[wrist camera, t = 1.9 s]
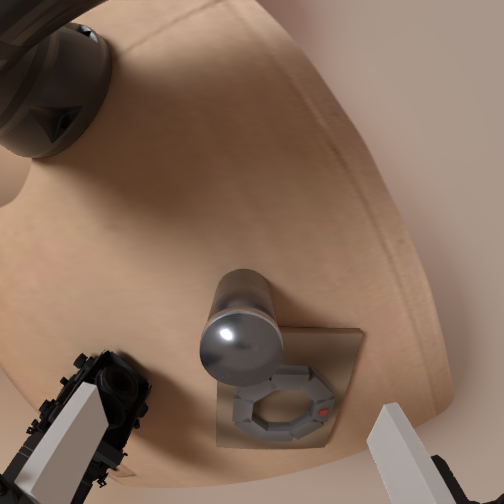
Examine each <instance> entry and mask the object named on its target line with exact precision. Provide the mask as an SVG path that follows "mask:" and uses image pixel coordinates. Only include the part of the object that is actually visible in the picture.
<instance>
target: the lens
mask: <svg viewBox="0 0 504 504" xmlns="http://www.w3.org/2000/svg"><path fill="white" fill-rule="evenodd" d="M282 358H283V341H282V336H281V332H280V329H279V327H278V324H277V319H276V314H275V310H274V305H273V300H272V295H271V290H270V287H269V284H268V282H267V281H266V279H265V278H264V277H263V276H262V275H260V274H259V273H257V272H255V271H253V270H249V269H238V270H234V271H231V272H230V273H228V274H226V275H225V276H224V277H223V278H222V279H221V281H220V282H219V284H218V286H217V290H216V293H215V297H214V300H213V303H212V307H211V310H210V314H209V317H208V321H207V323H206V325H205V327H204V329H203V332H202V336H201V340H200V359H201V362H202V364H203V366H204V368H205V370H206V371H207V372H208V373H209V374H210V375H211V376H212V377H213V378H215V379H216V380H218V381H220V382H222V383H224V384H227V385H231V386H237V387H248V386H254V385H257V384H260V383H262V382H264V381H266V380H268V379H269V378H270V377H272V376H273V375H274V374H275V373H276V371H277V370H278V369H279V367H280V365H281V362H282Z"/></svg>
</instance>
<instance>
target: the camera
mask: <svg viewBox="0 0 504 504" xmlns="http://www.w3.org/2000/svg"><path fill="white" fill-rule="evenodd" d="M104 351H105V350H104ZM104 351H103V352H104ZM103 352H102V353H103ZM102 353H101V354H102ZM101 354H100V356H99V357H95V359H93V358H92V357H90V358H89V359H88V360H87V361H86V359H87V358H88V357H86V356H85V355H84V354H83V353H82V354H80V355H79V357H78V358H77V359H76V360H75V362H74V364H73V365H74V366H76V367H77V368H79V369H80V368H81V369H80V370H79V371H78V373H77V374H74V375H72V378H71V379H69V380H67V379H66V378H65V377H63V378H62V379H61V380H60V383H61V384H63V385H64V387H63V388H62V391H60V394H59V395H58V398H57V399H56V401H55V400H54V399H52V401H51V402H50V401H48V400H47V399H46V400H45V402H44V403H43V404H42V406H41V407H40V408H39V411H40V412H41V414H40V417H39V418H40V419H41V421H40V423H38V421H37V420H36V419H34V421H33V422H32V424H31V425H32V426H33V427H32V428H31V427H28V429H27V432H26V433H28V434H34V433H36V432H39V433H42V434H44V435H45V434H46V432H47V431H48V430H49V428H50V427H51V425H52V424H53V422H54V421H55V420H56V418H57V417H58V415H59V414H60V412H61V411H62V410H63V408H64V407H65V406H66V404H67V403H68V401H69V400H70V399H71V397H72V396H73V395H74V393H75V392H76V391H77V389H78V388H79V387H80V385H81V384H82V383H83V382H85V383H89V384H92V385H96V386H97V389H98V392H99V396H100V399H101V403H102V406H103V409H104V412H105V416H106V419H107V422H108V427H107V429H106V431H105V433H104V435H103V437H102V439H101V441H100V443H99V445H98V447H97V449H96V451H95V453H94V455H93V457H92V459H91V461H90V463H89V465H88V467H87V469H86V471H85V473H84V475H83V477H82V479H81V481H80V483H79V486H78V488H77V490H76V492H75V494H74V496H73V499H72V501H71V503H70V504H83V503H84V500H85V499H86V497H87V495H88V493H89V491H90V489H91V487H92V486H93V484H92V482H93V481H95V480H96V479H99V480H98V481H97V482H98V483H99V484H100V485H101V486H100V488H101V487H103V486H105V485H106V482H105V481H104V480H105V478H106V477H107V475H108V473H106V471H107V469H108V468H111V467H112V468H115V467H117V466H118V465H120V463H121V461H122V459H123V457H124V455H126V456H128V454H127V453H125V452H124V454H123V448H124V447H125V445H126V444H127V440H128V438H129V435H130V433H131V431H132V428H133V427H134V428H135V429H138V428H139V427H140V423H139V419H138V417H139V418H141V417H143V416H144V415H145V414H146V412H147V410H148V407H149V406H147V405H146V403H145V400H146V398H147V397H148V395H149V393H150V391H151V387H152V386H150V387H149V388H148V386H149V383H148V382H147V379H146V378H145V377H143V376H142V375H141V374H140V373H138V372H137V371H136V370H134V369H133V368H132V367H131V366H129V365H128V364H127V363H126V362H124V361H123V360H122V359H121V358H119V357H118V356H117V355H116V354H115V353H113V352H110V351H108V350H107V351H106V352H105V353H104V354H102V355H101ZM98 358H99V359H98ZM137 419H138V420H137ZM33 428H34V429H33ZM29 429H30V430H31V431H30V430H29ZM105 473H106V474H105ZM101 483H104V485H102V484H101Z"/></svg>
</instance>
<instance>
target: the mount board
mask: <svg viewBox="0 0 504 504" xmlns="http://www.w3.org/2000/svg"><path fill="white" fill-rule="evenodd" d="M279 329H280V332H281V336H282V341H283V358H282V362H281V365H280V367H279V369H278V370H277V371H276V373H275V374H274V375H273V376H272V377H270V378H269V379H268V380H266V381H264V382H262V383H260V384H257V385H254V386H248V387H237V386H231V385H227V384H224V383H222V382H220V381H218V380H217V438H216V447H225V448H240V449H306V448H321V447H325V445H326V443H327V440H328V438H329V435H330V433H331V430H332V428H333V425H334V423H335V420H336V417H337V415H338V412H339V409H340V407H341V404H342V401H343V398H344V395H345V392H346V390H347V387H348V384H349V380H350V377H351V374H352V371H353V368H354V365H355V361H356V358H357V354H358V351H359V347H360V344H361V340H362V336H363V333H362V331H361V330H360V329H359V328H303V327H279Z"/></svg>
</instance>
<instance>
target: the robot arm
mask: <svg viewBox="0 0 504 504" xmlns="http://www.w3.org/2000/svg"><path fill="white" fill-rule="evenodd" d="M106 1H108V0H0V145H2V146H4V147H5V148H6V149H8V150H10V151H11V152H13V153H14V154H16V155H19V156H23V157H30V158H45V157H49V156H52V155H55V154H57V153H59V152H61V151H62V150H64V149H65V148H67V147H68V146H70V145H71V144H72V143H73V142H74V141H75V140H76V139H77V138H78V137H79V136H80V135H81V134H82V133H83V132H84V131H85V129H86V128H87V127H88V126H89V124H90V123H91V121H92V120H93V118H94V117H95V115H96V113H97V112H98V110H99V108H100V106H101V104H102V102H103V100H104V97H105V95H106V92H107V89H108V86H109V82H110V77H111V70H112V59H111V53H110V50H109V47H108V45H107V43H106V42H105V41H104V39H103V38H102V37H101V36H99V35H98V34H97V33H96V32H95V31H94V30H92V29H91V28H89V27H87V26H85V25H81V24H77V23H72V22H71V21H72V20H74V19H75V18H77V17H79V16H80V15H82V14H84V13H85V12H87V11H89V10H91V9H92V8H94V7H96V6H98V5H100V4H102V3H104V2H106ZM107 427H108V422H107V419H106V416H105V412H104V409H103V406H102V403H101V399H100V396H99V392H98V389H97V386H96V385H92V384H89V383H85V382H83V383H82V384H81V385H80V387H79V388H78V389H77V391H76V392H75V393H74V395H73V396H72V397H71V399H70V400H69V401H68V403H67V404H66V406H65V407H64V408H63V410H62V411H61V412H60V414H59V415H58V417H57V418H56V420H55V421H54V422H53V424H52V425H51V427H50V428H49V430H48V431H47V432H46V434H45V435H44V434H42V433H39V432H36V433H34V434H32V435H31V436H29V437H28V439H27V440H26V441H25V443H24V444H23V447H21V449H20V450H19V453H17V454H16V456H15V457H14V458H13V460H12V461H11V463H10V465H9V466H8V467H7V469H6V470H5V472H4V473H3V474H2V475H1V474H0V504H70V503H71V501H72V499H73V496H74V494H75V492H76V490H77V488H78V486H79V483H80V481H81V479H82V477H83V475H84V473H85V471H86V469H87V467H88V465H89V463H90V461H91V459H92V457H93V455H94V453H95V451H96V449H97V447H98V445H99V443H100V441H101V439H102V437H103V435H104V433H105V431H106V429H107ZM366 442H367V444H368V447H369V449H370V451H371V454H372V456H373V458H374V461H375V464H376V466H377V468H378V471H379V473H380V476H381V478H382V481H383V483H384V486H385V488H386V491H387V493H388V496H389V498H390V501H391V503H392V504H480V503H479V502H476V501H469V500H468V499H467V497H466V496H465V494H464V492H463V490H462V489H461V487H460V485H459V484H458V482H457V480H456V478H455V477H453V473H452V472H451V470H450V468H449V467H448V465H447V463H446V462H445V460H443V459H442V458H441V457H440V456H438V455H435V456H432V457H430V456H429V454H428V452H427V451H426V449H425V447H424V445H423V444H422V442H421V440H420V439H419V437H418V436H417V434H416V432H415V430H414V429H413V427H412V425H411V424H410V422H409V420H408V419H407V417H406V415H405V414H404V412H403V411H402V409H401V407H400V406H399V404H398V403H397V402H396V403H389V404H384V405H383V407H382V410H381V412H380V414H379V416H378V418H377V420H376V422H375V424H374V427H373V429H372V431H371V433H370V434H369V436H368V438H367V440H366ZM483 504H504V494H502V495H501V496H500V497H499V498H498V499H496V500H495V501H491V502H487V503H483Z"/></svg>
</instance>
